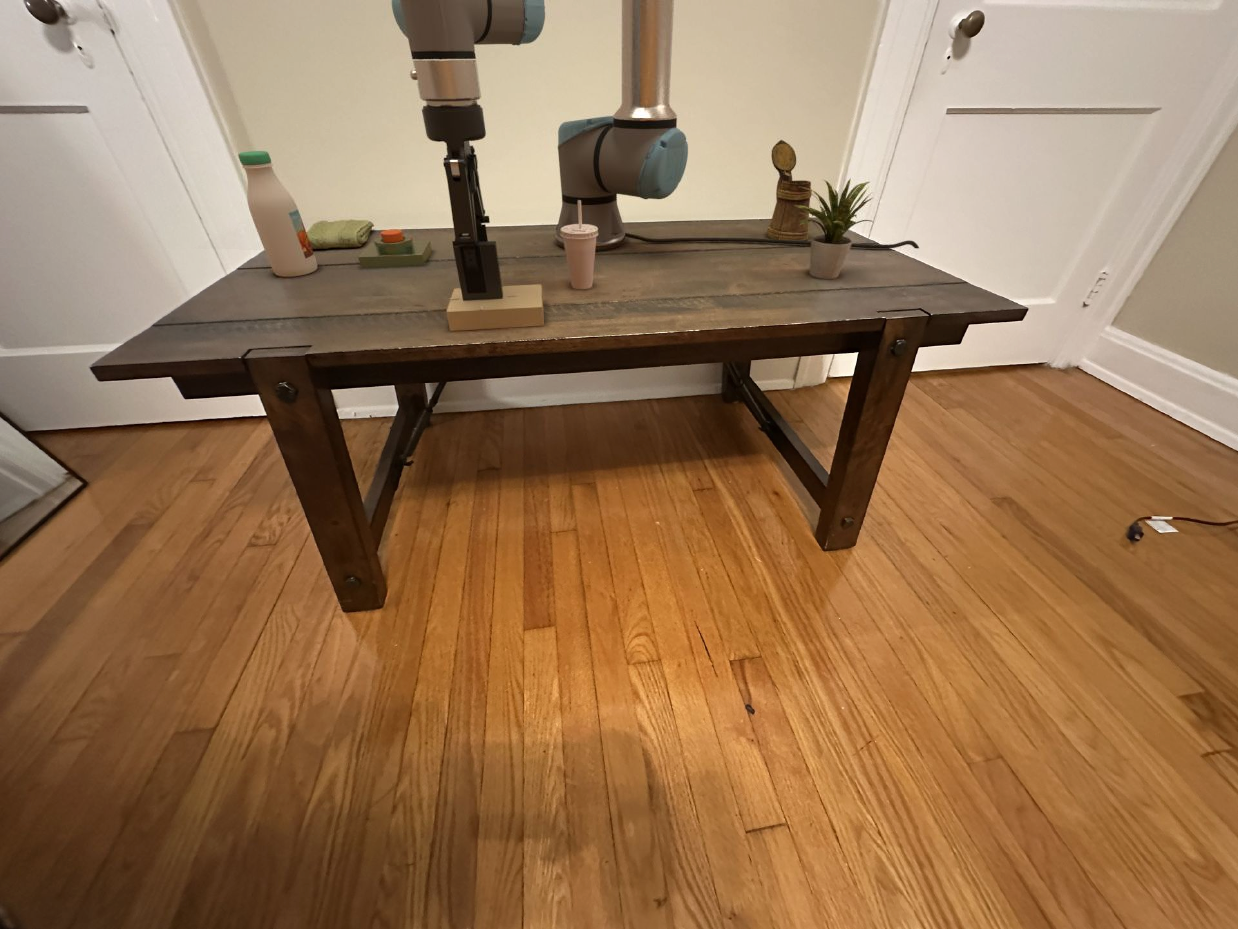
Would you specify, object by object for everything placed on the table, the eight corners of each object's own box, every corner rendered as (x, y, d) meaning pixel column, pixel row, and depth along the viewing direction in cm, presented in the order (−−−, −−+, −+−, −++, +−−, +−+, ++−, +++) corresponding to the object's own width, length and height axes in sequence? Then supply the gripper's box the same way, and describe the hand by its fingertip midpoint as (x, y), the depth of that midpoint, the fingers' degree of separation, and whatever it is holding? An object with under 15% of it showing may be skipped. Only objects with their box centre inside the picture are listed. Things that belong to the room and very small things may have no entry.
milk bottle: (301, 279, 99) (255, 155, 87) (265, 276, 100) (215, 154, 88) (327, 266, 105) (288, 149, 93) (292, 264, 106) (249, 148, 94)
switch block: (432, 251, 113) (428, 231, 110) (424, 265, 105) (419, 244, 102) (373, 253, 111) (368, 233, 109) (361, 268, 104) (355, 247, 101)
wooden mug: (783, 225, 128) (798, 138, 117) (816, 240, 118) (835, 146, 107) (750, 228, 126) (762, 140, 115) (780, 243, 116) (796, 148, 105)
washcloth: (376, 228, 128) (372, 214, 126) (364, 249, 114) (359, 233, 112) (318, 231, 126) (313, 217, 124) (299, 253, 112) (293, 237, 110)
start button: (405, 237, 108) (403, 228, 107) (402, 243, 105) (399, 234, 103) (385, 238, 107) (383, 229, 106) (381, 244, 104) (378, 234, 103)
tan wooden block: (543, 301, 89) (541, 283, 87) (544, 326, 81) (542, 305, 79) (457, 306, 88) (453, 287, 86) (449, 331, 80) (445, 310, 78)
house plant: (810, 256, 108) (829, 165, 98) (877, 271, 100) (904, 174, 90) (772, 272, 100) (788, 175, 90) (840, 290, 92) (866, 186, 82)
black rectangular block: (503, 294, 83) (495, 239, 78) (502, 298, 82) (494, 242, 77) (464, 296, 83) (453, 240, 78) (463, 300, 81) (452, 244, 76)
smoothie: (572, 294, 92) (567, 206, 83) (558, 283, 96) (552, 198, 88) (605, 288, 94) (604, 201, 85) (590, 277, 98) (587, 194, 90)
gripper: (434, 98, 76) (463, 258, 89) (403, 110, 58) (445, 308, 71) (487, 97, 76) (508, 256, 90) (473, 109, 58) (501, 306, 72)
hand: (480, 279), depth 81 cm, fingers open, 10 cm apart
